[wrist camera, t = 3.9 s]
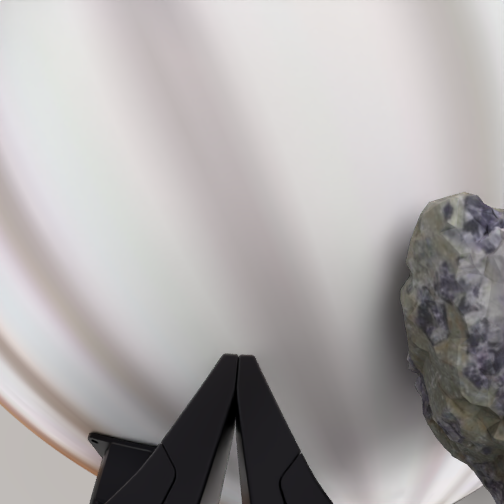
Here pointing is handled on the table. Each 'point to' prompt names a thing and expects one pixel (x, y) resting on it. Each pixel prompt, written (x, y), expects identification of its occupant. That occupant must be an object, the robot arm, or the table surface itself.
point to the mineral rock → (460, 330)
